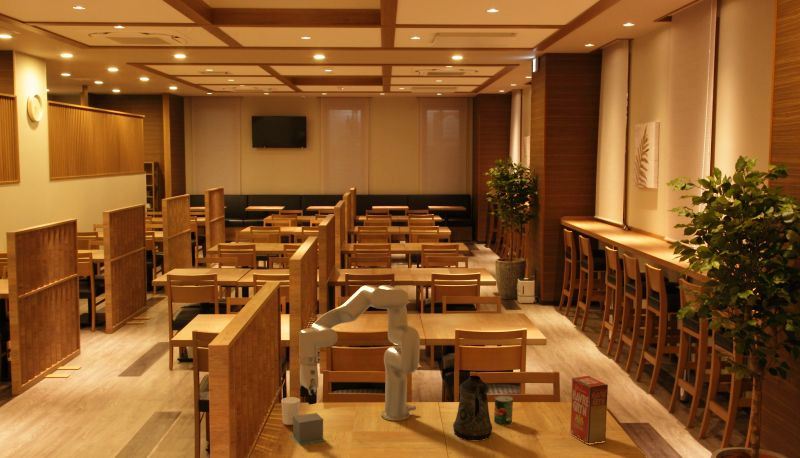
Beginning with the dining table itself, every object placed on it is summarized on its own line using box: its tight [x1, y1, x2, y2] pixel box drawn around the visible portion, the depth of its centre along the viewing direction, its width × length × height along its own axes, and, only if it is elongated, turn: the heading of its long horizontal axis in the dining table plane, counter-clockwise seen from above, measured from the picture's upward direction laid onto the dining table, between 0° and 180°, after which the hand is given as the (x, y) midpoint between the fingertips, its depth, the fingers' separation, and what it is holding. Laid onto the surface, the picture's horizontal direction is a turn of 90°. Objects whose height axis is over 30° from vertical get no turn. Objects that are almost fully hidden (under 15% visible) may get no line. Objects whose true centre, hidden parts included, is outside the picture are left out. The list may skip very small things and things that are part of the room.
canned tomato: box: [493, 395, 514, 426], centre depth 346 cm, size 8×8×11 cm
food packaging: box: [569, 375, 609, 443], centre depth 329 cm, size 13×9×25 cm
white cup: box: [280, 396, 301, 426], centre depth 341 cm, size 8×8×10 cm
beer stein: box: [452, 374, 493, 441], centre depth 330 cm, size 16×19×25 cm
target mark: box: [290, 434, 326, 446], centre depth 324 cm, size 11×11×1 cm
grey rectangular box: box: [292, 412, 324, 443], centre depth 324 cm, size 10×8×9 cm
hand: (308, 400), depth 322 cm, fingers open, 9 cm apart
